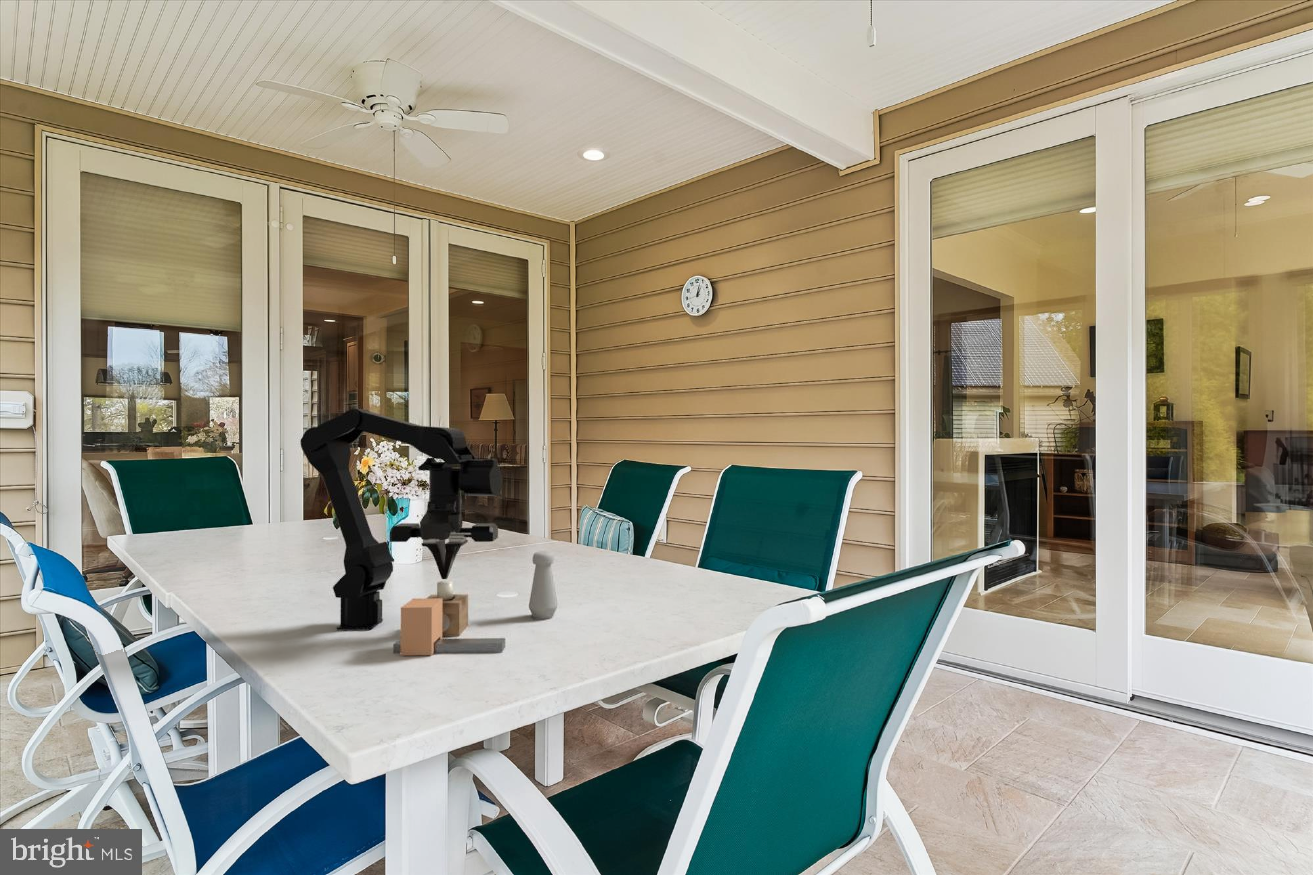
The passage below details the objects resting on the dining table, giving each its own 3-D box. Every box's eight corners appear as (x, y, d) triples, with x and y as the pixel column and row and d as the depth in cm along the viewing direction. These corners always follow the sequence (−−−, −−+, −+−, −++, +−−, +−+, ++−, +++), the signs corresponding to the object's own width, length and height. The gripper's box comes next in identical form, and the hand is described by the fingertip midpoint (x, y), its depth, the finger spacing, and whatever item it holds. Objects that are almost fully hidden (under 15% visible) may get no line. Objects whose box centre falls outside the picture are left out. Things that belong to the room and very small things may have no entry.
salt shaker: (560, 613, 142) (561, 550, 143) (554, 620, 137) (554, 554, 137) (532, 612, 143) (533, 549, 143) (524, 619, 137) (525, 554, 137)
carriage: (400, 655, 114) (400, 607, 114) (413, 643, 120) (413, 598, 120) (431, 654, 114) (431, 607, 114) (442, 643, 121) (442, 598, 121)
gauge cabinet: (419, 636, 125) (419, 603, 125) (431, 625, 133) (431, 594, 133) (458, 636, 126) (459, 603, 126) (468, 625, 133) (468, 594, 133)
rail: (393, 653, 116) (393, 644, 116) (399, 647, 119) (399, 639, 119) (502, 652, 116) (502, 643, 116) (505, 646, 119) (505, 638, 119)
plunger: (435, 599, 128) (435, 584, 128) (439, 596, 131) (439, 580, 131) (450, 599, 128) (450, 583, 128) (454, 596, 131) (454, 580, 131)
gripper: (378, 498, 121) (378, 588, 121) (487, 498, 122) (486, 587, 122) (399, 493, 132) (399, 575, 132) (498, 493, 133) (498, 575, 133)
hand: (444, 578), depth 129 cm, fingers closed
